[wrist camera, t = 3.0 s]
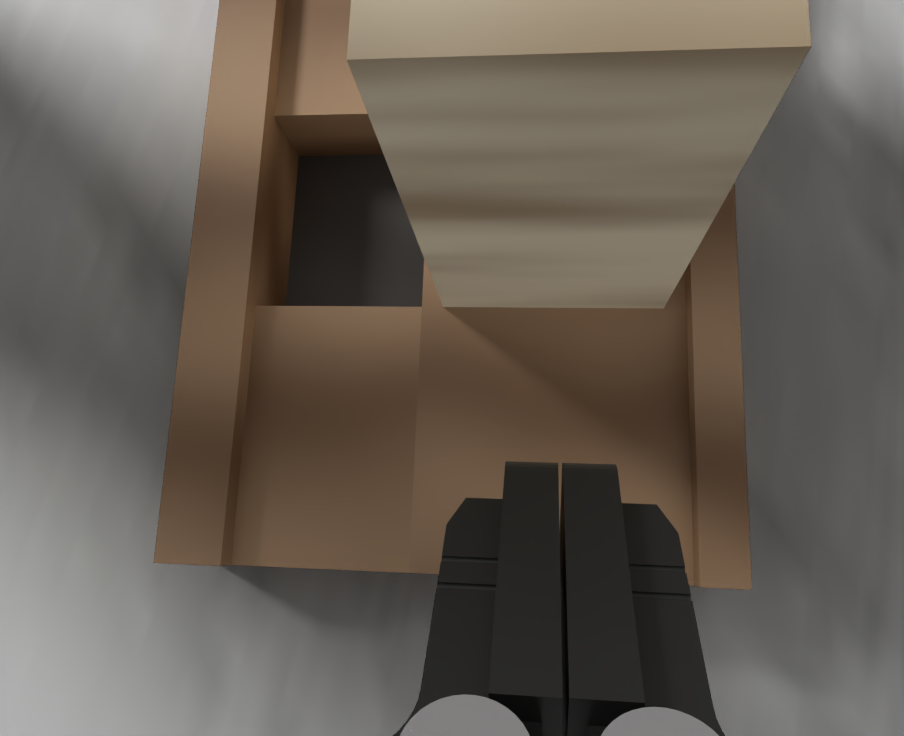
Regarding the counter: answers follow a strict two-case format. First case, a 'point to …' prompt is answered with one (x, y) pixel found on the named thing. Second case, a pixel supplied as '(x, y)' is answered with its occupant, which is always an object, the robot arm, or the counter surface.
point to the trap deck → (407, 349)
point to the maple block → (569, 134)
